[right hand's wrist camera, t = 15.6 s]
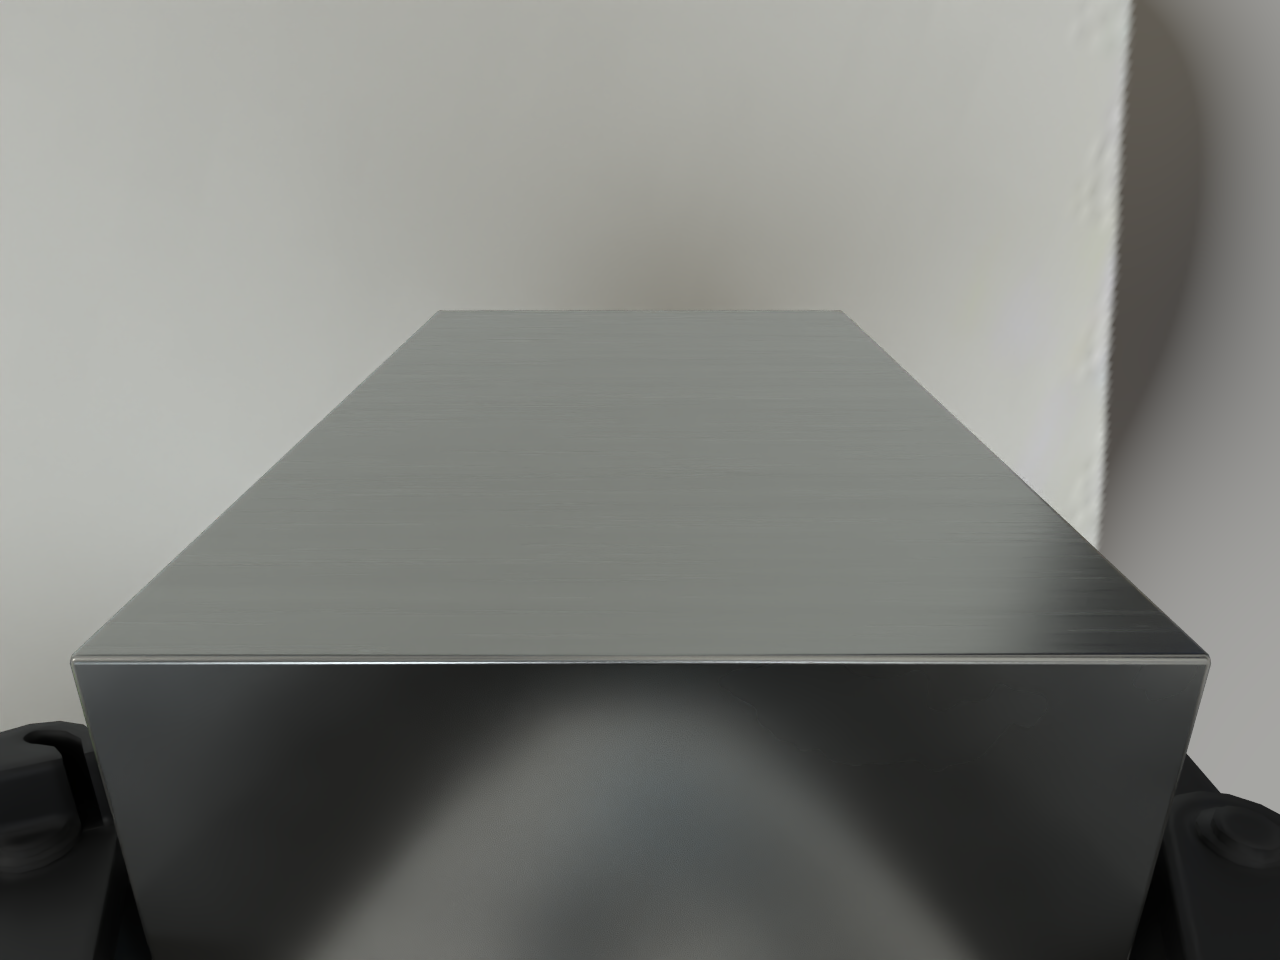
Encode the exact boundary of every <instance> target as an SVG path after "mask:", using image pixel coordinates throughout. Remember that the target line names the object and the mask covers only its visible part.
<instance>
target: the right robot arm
mask: <svg viewBox="0 0 1280 960" xmlns="http://www.w3.org/2000/svg"><path fill="white" fill-rule="evenodd" d="M0 960H152V959H151V956H150V952H149V949H148V945H147V941H146V938H145V934H144V930H143V927H142V923H141V919H140V916H139V912H138V909H137V905H136V901H135V898H134V894H133V890H132V887H131V883H130V880H129V876H128V872H127V869H126V865H125V861H124V858H123V854H122V850H121V847H120V843H119V840H118V836H117V832H116V829H115V825H114V821H113V818H112V814H111V811H110V807H109V803H108V800H107V796H106V792H105V789H104V785H103V781H102V778H101V774H100V771H99V767H98V763H97V760H96V756H95V752H94V749H93V745H92V742H91V738H90V734H89V731H88V727H86V726H85V725H82V724H76V723H69V722H63V721H56V722H46V723H36V724H28V725H25V726H21V727H18V728H14V729H11V730H7V731H4V732H0ZM1129 960H1280V814H1278V813H1276V812H1274V811H1272V810H1270V809H1268V808H1267V807H1265V806H1263V805H1261V804H1258V803H1255V802H1252V801H1249V800H1246V799H1242V798H1239V797H1236V796H1233V795H1230V794H1223V793H1220V792H1219V791H1218V790H1217V788H1216V787H1215V786H1214V785H1213V784H1212V783H1211V781H1210V780H1209V779H1208V778H1207V777H1206V776H1205V774H1204V773H1203V772H1202V771H1201V770H1200V769H1199V767H1198V766H1197V765H1196V764H1195V763H1194V762H1193V761H1192V759H1191V758H1190V757H1189V756H1188V755H1187V754H1186V756H1185V760H1184V763H1183V767H1182V770H1181V774H1180V778H1179V781H1178V785H1177V789H1176V792H1175V796H1174V799H1173V803H1172V807H1171V810H1170V814H1169V818H1168V821H1167V825H1166V828H1165V832H1164V836H1163V839H1162V843H1161V847H1160V850H1159V854H1158V857H1157V861H1156V865H1155V868H1154V872H1153V876H1152V879H1151V883H1150V886H1149V890H1148V894H1147V897H1146V901H1145V905H1144V908H1143V912H1142V915H1141V919H1140V923H1139V926H1138V930H1137V934H1136V937H1135V941H1134V944H1133V948H1132V952H1131V955H1130V959H1129Z"/></svg>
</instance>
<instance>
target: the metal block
mask: <svg viewBox="0 0 1280 960" xmlns="http://www.w3.org/2000/svg"><path fill="white" fill-rule="evenodd" d="M70 665H71V669H72V673H73V676H74V680H75V683H76V687H77V691H78V694H79V698H80V702H81V705H82V709H83V712H84V716H85V720H86V723H87V727H88V731H89V734H90V738H91V742H92V745H93V749H94V752H95V756H96V760H97V763H98V767H99V771H100V774H101V778H102V781H103V785H104V789H105V792H106V796H107V800H108V803H109V807H110V811H111V814H112V818H113V821H114V825H115V829H116V832H117V836H118V840H119V843H120V847H121V850H122V854H123V858H124V861H125V865H126V869H127V872H128V876H129V880H130V883H131V887H132V890H133V894H134V898H135V901H136V905H137V909H138V912H139V916H140V919H141V923H142V927H143V930H144V934H145V938H146V941H147V945H148V949H149V952H150V956H151V959H152V960H1129V959H1130V955H1131V952H1132V948H1133V944H1134V941H1135V937H1136V934H1137V930H1138V926H1139V923H1140V919H1141V915H1142V912H1143V908H1144V905H1145V901H1146V897H1147V894H1148V890H1149V886H1150V883H1151V879H1152V876H1153V872H1154V868H1155V865H1156V861H1157V857H1158V854H1159V850H1160V847H1161V843H1162V839H1163V836H1164V832H1165V828H1166V825H1167V821H1168V818H1169V814H1170V810H1171V807H1172V803H1173V799H1174V796H1175V792H1176V789H1177V785H1178V781H1179V778H1180V774H1181V770H1182V767H1183V763H1184V760H1185V756H1186V752H1187V749H1188V745H1189V741H1190V738H1191V734H1192V730H1193V727H1194V723H1195V720H1196V716H1197V712H1198V709H1199V705H1200V701H1201V698H1202V694H1203V691H1204V687H1205V683H1206V680H1207V676H1208V672H1209V669H1210V665H1211V660H1210V657H1209V655H1208V654H1207V653H1206V652H1205V651H1204V650H1203V649H1202V648H1201V647H1200V646H1199V645H1198V644H1197V643H1196V642H1195V641H1193V640H1192V639H1191V638H1190V637H1189V636H1188V635H1187V634H1186V633H1185V632H1184V631H1183V630H1182V629H1181V628H1180V627H1179V626H1177V625H1176V624H1175V623H1174V622H1173V621H1172V620H1171V619H1170V618H1169V617H1168V616H1167V615H1166V614H1165V613H1164V612H1163V611H1161V610H1160V609H1159V608H1158V607H1157V606H1156V605H1155V604H1154V603H1153V602H1152V601H1151V600H1150V599H1149V598H1148V597H1147V596H1145V595H1144V594H1143V593H1142V592H1141V591H1140V590H1139V589H1138V588H1137V587H1136V586H1135V585H1134V584H1133V583H1132V582H1131V581H1129V580H1128V579H1127V578H1126V577H1125V576H1124V575H1123V574H1122V573H1121V572H1120V571H1119V570H1118V569H1117V568H1116V567H1115V566H1113V565H1112V564H1111V563H1110V562H1109V561H1108V560H1107V559H1106V558H1105V557H1104V556H1103V555H1102V554H1101V553H1100V552H1099V551H1097V550H1096V549H1095V548H1094V547H1093V546H1092V545H1091V544H1090V543H1089V542H1088V541H1087V540H1086V539H1085V538H1084V537H1083V536H1081V535H1080V534H1079V533H1078V532H1077V531H1076V530H1075V529H1074V528H1073V527H1072V526H1071V525H1070V524H1069V523H1068V522H1067V521H1065V520H1064V519H1063V518H1062V517H1061V516H1060V515H1059V514H1058V513H1057V512H1056V511H1055V510H1054V509H1053V508H1052V507H1051V506H1049V505H1048V504H1047V503H1046V502H1045V501H1044V500H1043V499H1042V498H1041V497H1040V496H1039V495H1038V494H1037V493H1036V492H1035V491H1033V490H1032V489H1031V488H1030V487H1029V486H1028V485H1027V484H1026V483H1025V482H1024V481H1023V480H1022V479H1021V478H1020V477H1019V476H1017V475H1016V474H1015V473H1014V472H1013V471H1012V470H1011V469H1010V468H1009V467H1008V466H1007V465H1006V464H1005V463H1004V462H1003V461H1001V460H1000V459H999V458H998V457H997V456H996V455H995V454H994V453H993V452H992V451H991V450H990V449H989V448H988V447H987V446H985V445H984V444H983V443H982V442H981V441H980V440H979V439H978V438H977V437H976V436H975V435H974V434H973V433H972V432H971V431H969V430H968V429H967V428H966V427H965V426H964V425H963V424H962V423H961V422H960V421H959V420H958V419H957V418H956V417H955V416H953V415H952V414H951V413H950V412H949V411H948V410H947V409H946V408H945V407H944V406H943V405H942V404H941V403H940V402H939V401H937V400H936V399H935V398H934V397H933V396H932V395H931V394H930V393H929V392H928V391H927V390H926V389H925V388H924V387H923V386H921V385H920V384H919V383H918V382H917V381H916V380H915V379H914V378H913V377H912V376H911V375H910V374H909V373H908V372H907V371H905V370H904V369H903V368H902V367H901V366H900V365H899V364H898V363H897V362H896V361H895V360H894V359H893V358H892V357H891V356H889V355H888V354H887V353H886V352H885V351H884V350H883V349H882V348H881V347H880V346H879V345H878V344H877V343H876V342H875V341H873V340H872V339H871V338H870V337H869V336H868V335H867V334H866V333H865V332H864V331H863V330H862V329H861V328H860V327H859V326H857V325H856V324H855V323H854V322H853V321H852V320H851V319H850V318H849V317H848V316H847V315H846V314H845V313H844V312H843V311H840V310H440V311H438V312H437V313H436V314H435V315H434V316H433V317H431V318H430V319H429V320H428V321H427V322H426V323H425V324H424V325H423V326H422V327H421V328H420V329H419V330H418V331H417V332H416V333H414V334H413V335H412V336H411V337H410V338H409V339H408V340H407V341H406V342H405V343H404V344H403V345H402V346H401V347H400V348H398V349H397V350H396V351H395V352H394V353H393V354H392V355H391V356H390V357H389V358H388V359H387V360H386V361H385V362H384V363H382V364H381V365H380V366H379V367H378V368H377V369H376V370H375V371H374V372H373V373H372V374H371V375H370V376H369V377H368V378H367V379H365V380H364V381H363V382H362V383H361V384H360V385H359V386H358V387H357V388H356V389H355V390H354V391H353V392H352V393H351V394H349V395H348V396H347V397H346V398H345V399H344V400H343V401H342V402H341V403H340V404H339V405H338V406H337V407H336V408H335V409H333V410H332V411H331V412H330V413H329V414H328V415H327V416H326V417H325V418H324V419H323V420H322V421H321V422H320V423H319V424H318V425H316V426H315V427H314V428H313V429H312V430H311V431H310V432H309V433H308V434H307V435H306V436H305V437H304V438H303V439H302V440H300V441H299V442H298V443H297V444H296V445H295V446H294V447H293V448H292V449H291V450H290V451H289V452H288V453H287V454H286V455H284V456H283V457H282V458H281V459H280V460H279V461H278V462H277V463H276V464H275V465H274V466H273V467H272V468H271V469H270V470H269V471H267V472H266V473H265V474H264V475H263V476H262V477H261V478H260V479H259V480H258V481H257V482H256V483H255V484H254V485H253V486H251V487H250V488H249V489H248V490H247V491H246V492H245V493H244V494H243V495H242V496H241V497H240V498H239V499H238V500H237V501H235V502H234V503H233V504H232V505H231V506H230V507H229V508H228V509H227V510H226V511H225V512H224V513H223V514H222V515H221V516H220V517H218V518H217V519H216V520H215V521H214V522H213V523H212V524H211V525H210V526H209V527H208V528H207V529H206V530H205V531H204V532H202V533H201V534H200V535H199V536H198V537H197V538H196V539H195V540H194V541H193V542H192V543H191V544H190V545H189V546H188V547H186V548H185V549H184V550H183V551H182V552H181V553H180V554H179V555H178V556H177V557H176V558H175V559H174V560H173V561H172V562H171V563H169V564H168V565H167V566H166V567H165V568H164V569H163V570H162V571H161V572H160V573H159V574H158V575H157V576H156V577H155V578H153V579H152V580H151V581H150V582H149V583H148V584H147V585H146V586H145V587H144V588H143V589H142V590H141V591H140V592H139V593H137V594H136V595H135V596H134V597H133V598H132V599H131V600H130V601H129V602H128V603H127V604H126V605H125V606H124V607H123V608H122V609H120V610H119V611H118V612H117V613H116V614H115V615H114V616H113V617H112V618H111V619H110V620H109V621H108V622H107V623H106V624H104V625H103V626H102V627H101V628H100V629H99V630H98V631H97V632H96V633H95V634H94V635H93V636H92V637H91V638H90V639H88V640H87V641H86V642H85V643H84V644H83V645H82V646H81V647H80V648H79V649H78V650H77V651H76V652H75V653H74V654H73V655H72V657H71V660H70Z"/></svg>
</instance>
